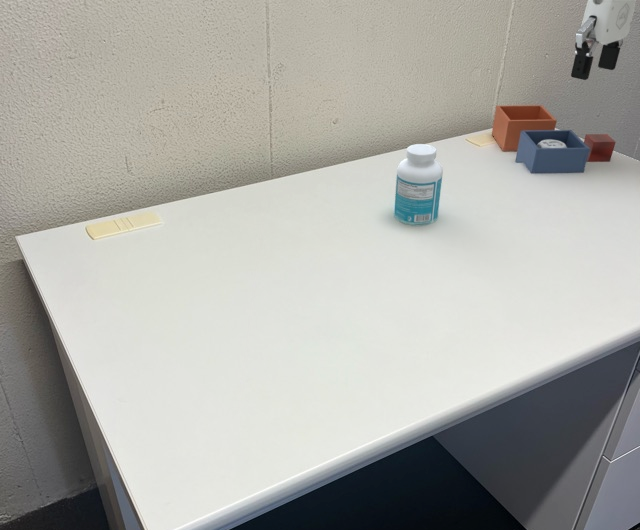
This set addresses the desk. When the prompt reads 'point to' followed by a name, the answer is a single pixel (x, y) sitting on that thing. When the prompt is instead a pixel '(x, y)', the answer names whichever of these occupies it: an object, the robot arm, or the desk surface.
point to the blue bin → (552, 152)
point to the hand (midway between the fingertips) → (592, 73)
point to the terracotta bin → (519, 123)
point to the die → (551, 144)
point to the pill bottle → (418, 186)
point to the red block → (599, 147)
